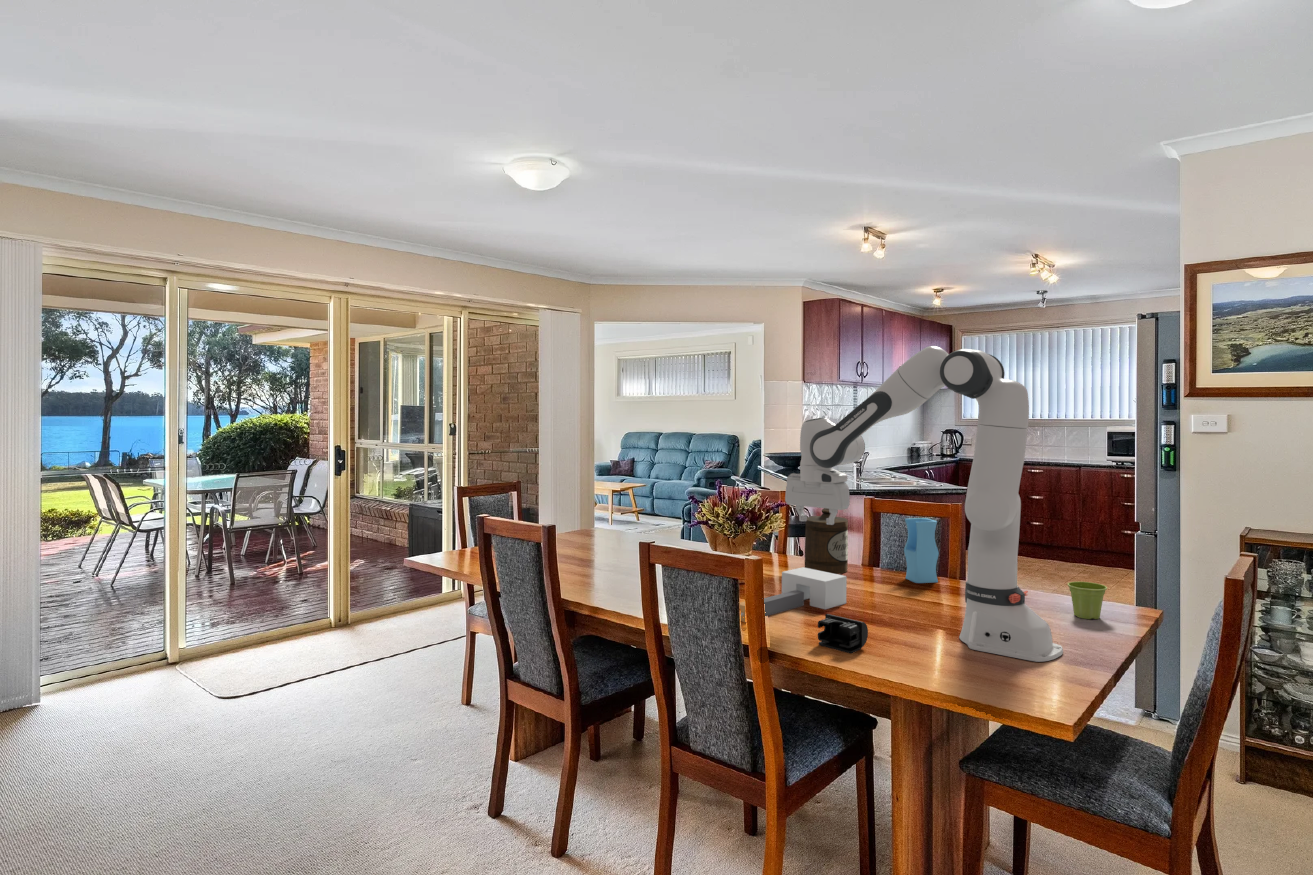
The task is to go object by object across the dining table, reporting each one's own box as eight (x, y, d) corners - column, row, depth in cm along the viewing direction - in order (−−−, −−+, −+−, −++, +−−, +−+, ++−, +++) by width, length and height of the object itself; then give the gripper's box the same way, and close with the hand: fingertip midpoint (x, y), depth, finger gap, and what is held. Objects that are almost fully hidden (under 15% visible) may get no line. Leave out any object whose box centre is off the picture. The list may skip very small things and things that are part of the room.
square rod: (804, 605, 212) (804, 590, 212) (743, 623, 195) (743, 606, 195) (794, 603, 215) (794, 588, 215) (733, 620, 198) (733, 604, 198)
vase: (903, 577, 246) (904, 518, 245) (925, 576, 248) (925, 517, 247) (916, 583, 238) (916, 522, 238) (938, 582, 240) (939, 521, 239)
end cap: (868, 647, 175) (868, 619, 175) (852, 654, 170) (853, 625, 170) (831, 638, 182) (832, 611, 182) (816, 644, 177) (816, 617, 177)
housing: (846, 603, 214) (846, 576, 214) (825, 609, 208) (825, 581, 208) (802, 592, 227) (802, 567, 226) (781, 598, 220) (781, 571, 220)
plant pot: (1062, 616, 200) (1062, 585, 200) (1072, 609, 207) (1073, 579, 206) (1101, 623, 194) (1101, 591, 193) (1110, 616, 200) (1111, 585, 200)
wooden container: (840, 576, 249) (841, 511, 248) (798, 571, 256) (799, 509, 255) (852, 568, 262) (853, 506, 261) (812, 563, 269) (812, 504, 268)
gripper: (780, 473, 215) (780, 520, 216) (839, 477, 200) (839, 527, 200) (793, 472, 219) (794, 518, 220) (852, 475, 204) (853, 525, 205)
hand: (816, 522), depth 210 cm, fingers open, 8 cm apart
